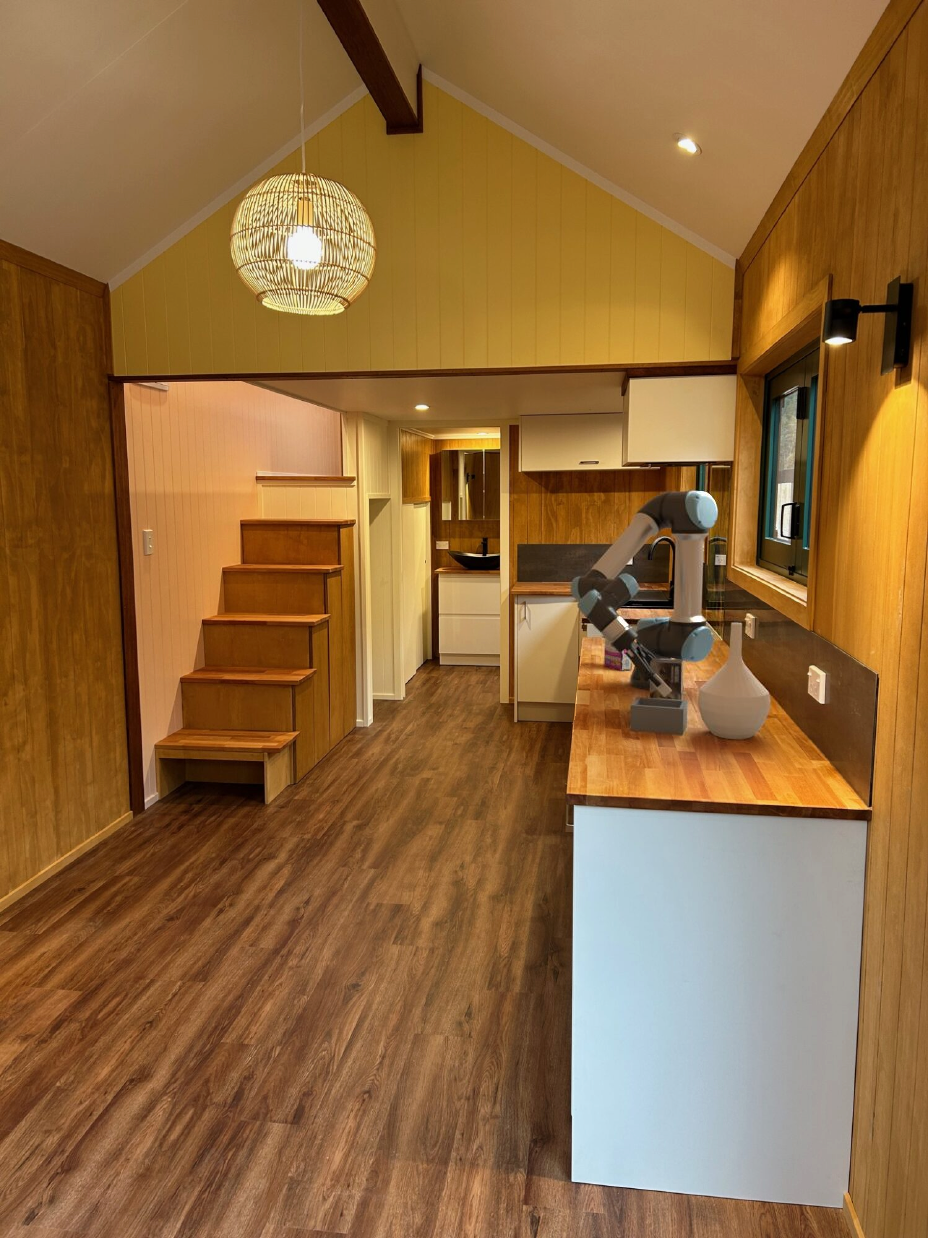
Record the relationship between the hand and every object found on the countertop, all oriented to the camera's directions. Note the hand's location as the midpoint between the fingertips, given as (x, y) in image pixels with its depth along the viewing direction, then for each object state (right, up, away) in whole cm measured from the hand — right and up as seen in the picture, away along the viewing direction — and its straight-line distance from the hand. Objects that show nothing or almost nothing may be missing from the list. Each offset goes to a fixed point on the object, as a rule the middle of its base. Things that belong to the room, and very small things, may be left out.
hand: (671, 689), depth 247 cm
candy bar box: (-2, +2, +73) cm, 73 cm away
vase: (+11, -11, -20) cm, 26 cm away
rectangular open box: (-7, -9, -13) cm, 18 cm away
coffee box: (-1, -8, +2) cm, 8 cm away
